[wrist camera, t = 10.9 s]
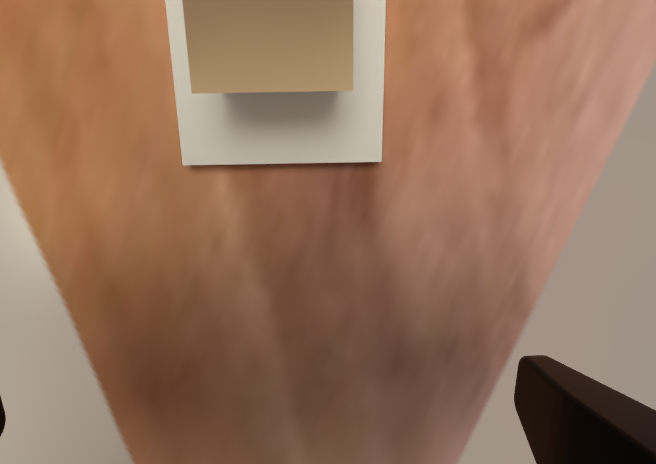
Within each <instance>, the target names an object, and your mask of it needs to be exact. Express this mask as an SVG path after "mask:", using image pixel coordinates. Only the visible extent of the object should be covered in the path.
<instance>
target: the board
mask: <svg viewBox="0 0 656 464" xmlns="http://www.w3.org/2000/svg"><path fill="white" fill-rule="evenodd" d="M165 3H166V12H167V21H168V31H169V40H170V50H171V59H172V69H173V78H174V87H175V97H176V106H177V116H178V125H179V134H180V144H181V153H182V163H183V165H231V164H287V163H343V162H382V127H383V89H384V51H385V14H386V0H353V91H312V92H254V93H196V94H192V92H191V82H190V72H189V62H188V52H187V42H186V32H185V22H184V12H183V2H182V0H165Z"/></svg>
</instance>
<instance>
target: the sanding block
mask: <svg viewBox="0 0 656 464" xmlns="http://www.w3.org/2000/svg"><path fill="white" fill-rule="evenodd" d="M182 2H183V12H184V22H185V32H186V42H187V52H188V62H189V72H190V82H191V92H192V94H196V93H254V92H312V91H353V0H182Z"/></svg>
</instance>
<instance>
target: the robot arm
mask: <svg viewBox="0 0 656 464" xmlns="http://www.w3.org/2000/svg"><path fill="white" fill-rule="evenodd" d="M514 402H515V407H516V411H517V413H518V416H519V419H520V421H521V424H522V426H523V429H524V432H525V434H526V437H527V440H528V442H529V445H530V448H531V450H532V453H533V455H534V458H535V460H536V463H537V464H656V410H653V409H651V408H650V407H647V406H645V405H643V404H642V403H640V402H638V401H635V400H634V399H632V398H630V397H627V396H625V395H624V394H621V393H620V392H618V391H616V390H613V389H612V388H610V387H608V386H606V385H604V384H601V383H600V382H598V381H595V380H594V379H592V378H590V377H588V376H585V375H583V374H582V373H580V372H578V371H576V370H574V369H572V368H570V367H567V366H565V365H564V364H562V363H560V362H558V361H555V360H554V359H552V358H549V357H547V356H544V355H540V356H539V355H537V356H524V357H522V358H521V359H520V361H519V365H518V371H517V379H516V386H515V393H514ZM5 420H6V419H5V411H4V408H3V404H2V400H1V397H0V436H1V434H2V432H3V429H4V426H5Z"/></svg>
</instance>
